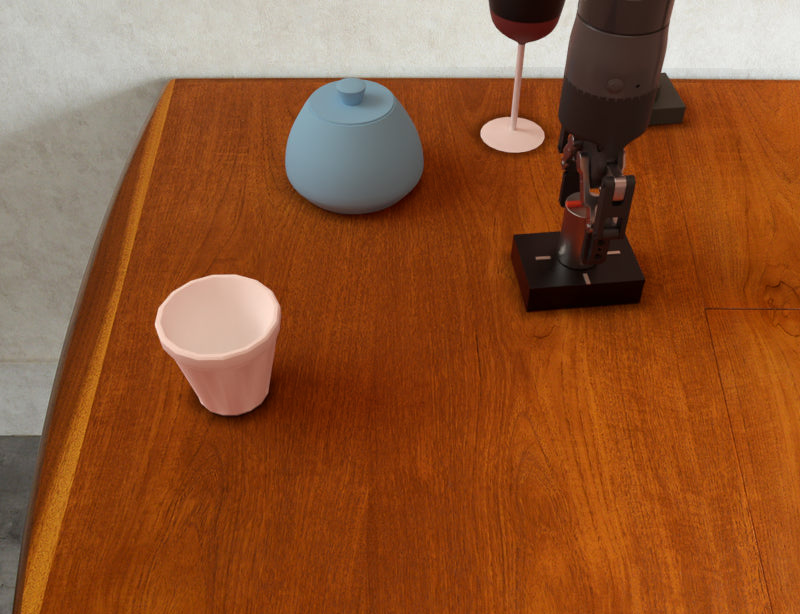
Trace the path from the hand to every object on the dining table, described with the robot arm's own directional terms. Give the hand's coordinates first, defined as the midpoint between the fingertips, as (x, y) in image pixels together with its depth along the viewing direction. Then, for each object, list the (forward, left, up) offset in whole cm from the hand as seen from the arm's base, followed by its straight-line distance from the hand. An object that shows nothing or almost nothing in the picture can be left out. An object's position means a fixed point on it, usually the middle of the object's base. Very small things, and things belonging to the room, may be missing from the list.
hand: (580, 232), depth 83 cm
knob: (0, 0, -3) cm, 3 cm away
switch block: (-14, -30, -6) cm, 34 cm away
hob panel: (0, 0, -6) cm, 6 cm away
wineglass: (+1, -26, -6) cm, 27 cm away
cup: (+33, +11, -6) cm, 35 cm away
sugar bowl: (+20, -19, -6) cm, 28 cm away
